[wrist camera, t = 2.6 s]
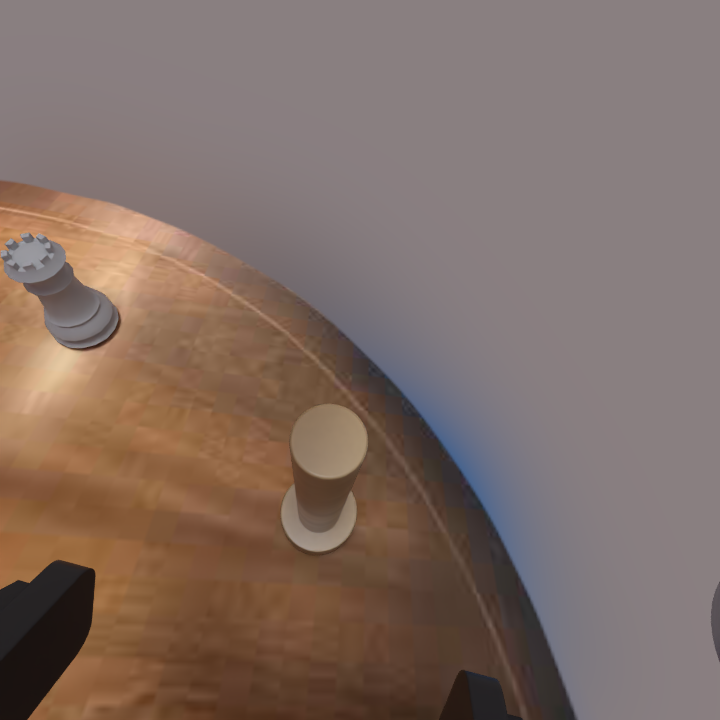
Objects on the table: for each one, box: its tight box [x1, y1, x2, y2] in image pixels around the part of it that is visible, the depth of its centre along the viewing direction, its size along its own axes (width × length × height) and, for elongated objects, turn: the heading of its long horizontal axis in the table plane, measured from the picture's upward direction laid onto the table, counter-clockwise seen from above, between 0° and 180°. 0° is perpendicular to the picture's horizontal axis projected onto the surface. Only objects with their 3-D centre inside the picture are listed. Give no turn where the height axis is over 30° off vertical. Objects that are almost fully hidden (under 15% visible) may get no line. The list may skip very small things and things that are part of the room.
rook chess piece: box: [1, 233, 119, 348], centre depth 28 cm, size 4×4×8 cm
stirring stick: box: [280, 404, 368, 555], centre depth 20 cm, size 4×4×16 cm
